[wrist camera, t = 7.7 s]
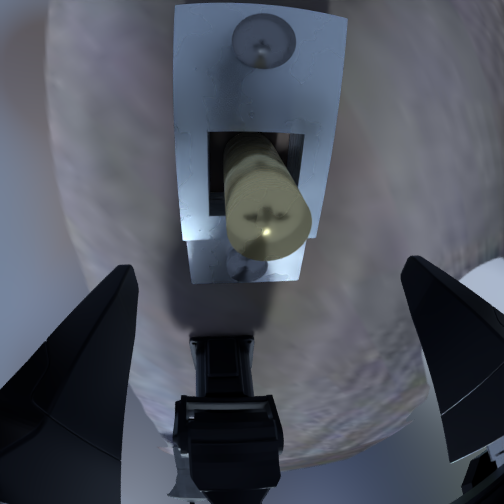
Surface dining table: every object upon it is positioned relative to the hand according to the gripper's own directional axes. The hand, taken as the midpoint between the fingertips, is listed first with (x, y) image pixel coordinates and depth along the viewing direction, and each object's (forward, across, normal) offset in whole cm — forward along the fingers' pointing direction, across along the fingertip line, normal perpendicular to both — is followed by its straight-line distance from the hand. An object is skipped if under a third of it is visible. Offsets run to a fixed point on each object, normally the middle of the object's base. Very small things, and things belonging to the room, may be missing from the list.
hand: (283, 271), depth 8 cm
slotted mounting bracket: (+10, 0, 0) cm, 11 cm away
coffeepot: (+10, +12, +73) cm, 75 cm away
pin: (+10, 0, 0) cm, 11 cm away
